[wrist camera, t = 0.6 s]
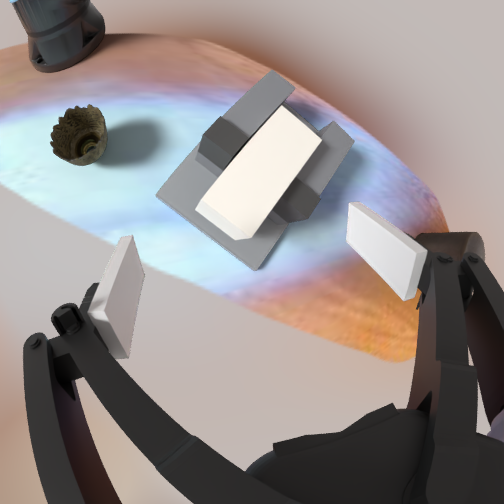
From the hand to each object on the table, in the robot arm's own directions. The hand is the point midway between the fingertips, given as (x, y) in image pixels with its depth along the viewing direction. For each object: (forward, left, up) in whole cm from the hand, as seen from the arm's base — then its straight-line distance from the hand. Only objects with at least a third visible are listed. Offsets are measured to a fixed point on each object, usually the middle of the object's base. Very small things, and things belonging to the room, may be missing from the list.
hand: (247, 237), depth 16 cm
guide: (-8, +11, -22) cm, 26 cm away
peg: (-6, +7, -17) cm, 19 cm away
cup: (-18, -11, -23) cm, 31 cm away
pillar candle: (+18, +41, -23) cm, 50 cm away
